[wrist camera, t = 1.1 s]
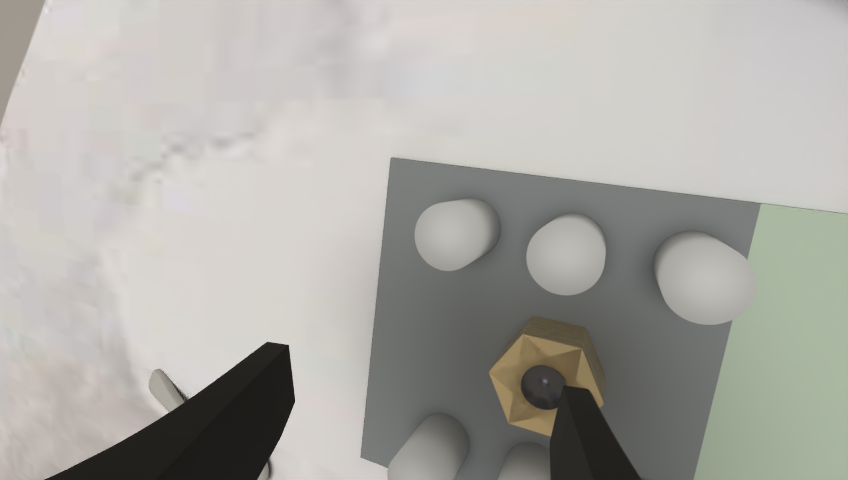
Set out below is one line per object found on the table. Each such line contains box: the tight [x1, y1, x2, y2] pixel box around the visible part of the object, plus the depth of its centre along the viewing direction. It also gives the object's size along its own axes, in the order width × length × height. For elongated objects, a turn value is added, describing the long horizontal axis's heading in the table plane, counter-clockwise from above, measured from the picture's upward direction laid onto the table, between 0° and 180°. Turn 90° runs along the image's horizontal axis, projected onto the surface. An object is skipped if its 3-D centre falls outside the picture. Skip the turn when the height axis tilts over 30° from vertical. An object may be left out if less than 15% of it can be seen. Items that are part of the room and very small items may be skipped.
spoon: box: [149, 369, 269, 480], centre depth 33 cm, size 3×12×2 cm, turn 63°
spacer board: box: [361, 158, 848, 480], centre depth 21 cm, size 18×26×4 cm
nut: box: [489, 316, 605, 436], centre depth 22 cm, size 4×5×3 cm
